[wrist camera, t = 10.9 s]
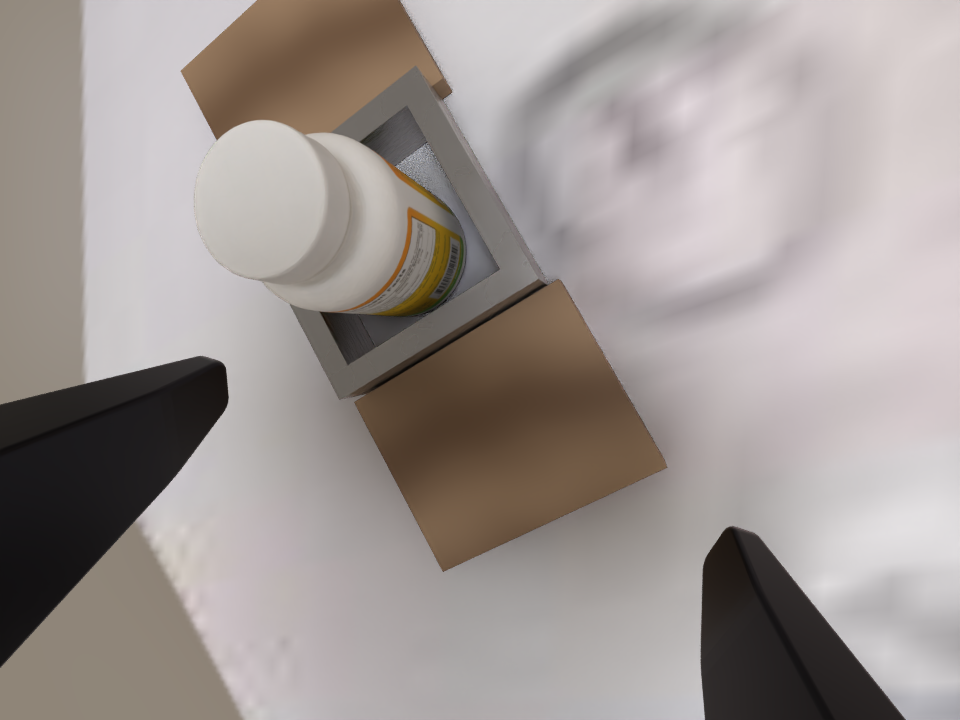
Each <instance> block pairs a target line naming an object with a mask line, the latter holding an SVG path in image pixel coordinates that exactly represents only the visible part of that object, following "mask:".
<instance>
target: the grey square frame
mask: <svg viewBox="0 0 960 720" xmlns="http://www.w3.org/2000/svg"><path fill="white" fill-rule="evenodd" d="M331 133H334V134H339V135H343V136H346V137H349V138H351V139H354V140H356V141H358V142H360V143H361V144H363V145H365V146H367V147H368V148H370V149H371V150H373V151H374V152H376V153H377V154H379V155H380V156H381V157H383V158H384V159H385V160H387V161H388V162H389V163H391V164H392V165H393V166H395V165H396V164H398V163H399V162H400V161H402V160H403V159H404V158H406V157H407V156H409V155H410V154H411V153H413V152H414V151H415V150H417V149H418V148H419V147H421V146H422V145H424V144H425V143H426V142H428V143H429V145H430V147H431V148H432V150H433V152H434V154H435V156H436V157H437V159H438V161H439V163H440V164H441V166H442V168H443V170H444V171H445V173H446V175H447V177H448V178H449V180H450V182H451V184H452V186H453V187H454V189H455V191H456V193H457V194H458V196H459V198H460V200H461V201H462V203H463V205H464V207H465V209H466V210H467V212H468V214H469V216H470V217H471V219H472V221H473V223H474V224H475V226H476V228H477V230H478V231H479V233H480V235H481V237H482V239H483V240H484V242H485V244H486V246H487V247H488V249H489V251H490V253H491V254H492V256H493V258H494V260H495V262H496V263H497V265H498V267H499V269H500V270H498V271H497V272H495V273H494V274H492V275H491V276H489V277H487V278H486V279H484V280H483V281H481V282H479V283H478V284H476V285H475V286H473V287H471V288H470V289H468V290H467V291H465V292H463V293H462V294H460V295H459V296H457V297H456V298H454V299H452V300H451V301H449V302H448V303H446V304H444V305H443V306H441V307H440V308H438V309H436V310H435V311H433V312H432V313H430V314H429V315H427V316H425V317H424V318H422V319H421V320H419V321H417V322H416V323H414V324H413V325H411V326H409V327H408V328H406V329H405V330H403V331H401V332H400V333H398V334H397V335H395V336H394V337H392V338H390V339H389V340H387V341H386V342H384V343H382V344H381V345H379V346H378V347H376V348H375V347H374V345H373V343H372V341H371V339H370V337H369V335H368V333H367V332H366V330H365V328H364V326H363V324H362V322H361V320H360V318H359V317H358V315H357V314H352V313H335V312H321V311H313V310H307V309H303V308H299V307H296V306H294V305H291V304H290V306H291V308H292V309H293V311H294V313H295V315H296V317H297V319H298V321H299V323H300V325H301V327H302V329H303V331H304V332H305V334H306V336H307V338H308V340H309V342H310V344H311V346H312V348H313V350H314V352H315V354H316V355H317V357H318V359H319V361H320V363H321V365H322V367H323V369H324V371H325V373H326V375H327V377H328V378H329V380H330V382H331V384H332V386H333V388H334V390H335V392H336V394H337V396H338V398H339V400H342V399H346V398H350V397H354V396H358V395H363V394H367V393H370V392H372V391H373V390H375V389H377V388H378V387H380V386H382V385H383V384H385V383H387V382H388V381H390V380H392V379H393V378H395V377H397V376H398V375H400V374H402V373H403V372H405V371H407V370H408V369H410V368H412V367H413V366H415V365H417V364H418V363H420V362H422V361H423V360H425V359H427V358H428V357H430V356H432V355H433V354H435V353H437V352H438V351H440V350H442V349H443V348H445V347H447V346H448V345H450V344H451V343H453V342H455V341H456V340H458V339H460V338H461V337H463V336H465V335H466V334H468V333H470V332H471V331H473V330H475V329H476V328H478V327H480V326H481V325H483V324H485V323H486V322H488V321H490V320H491V319H493V318H495V317H496V316H498V315H500V314H501V313H503V312H505V311H506V310H508V309H510V308H511V307H513V306H515V305H516V304H518V303H520V302H521V301H523V300H525V299H526V298H528V297H529V296H531V295H533V294H534V293H536V292H538V291H539V290H541V289H543V288H544V287H546V286H548V285H549V284H548V282H547V280H546V279H545V277H544V275H543V273H542V272H541V270H540V268H539V266H538V265H537V263H536V261H535V259H534V258H533V256H532V254H531V252H530V251H529V249H528V247H527V246H526V244H525V242H524V240H523V239H522V237H521V235H520V233H519V232H518V230H517V228H516V226H515V225H514V223H513V221H512V219H511V218H510V216H509V214H508V212H507V211H506V209H505V207H504V205H503V204H502V202H501V200H500V198H499V197H498V195H497V193H496V191H495V190H494V188H493V186H492V184H491V183H490V181H489V179H488V178H487V176H486V174H485V172H484V171H483V169H482V167H481V165H480V164H479V162H478V160H477V158H476V157H475V155H474V153H473V151H472V150H471V148H470V146H469V144H468V143H467V141H466V139H465V137H464V136H463V134H462V132H461V130H460V129H459V127H458V125H457V123H456V122H455V120H454V118H453V117H452V115H451V113H450V111H449V110H448V108H447V106H446V104H445V103H444V101H443V100H442V98H441V97H440V96H439V94H438V93H437V92H436V90H435V89H434V88H433V87H432V85H431V84H430V83H429V81H428V80H427V79H426V77H425V76H424V75H423V74H422V72H421V71H420V70H419V68H418V67H417V66H414V67H413V68H412V69H411V70H409V71H408V72H407V73H406V74H404V75H403V76H402V77H400V78H399V79H398V80H397V81H395V82H394V83H393V84H392V85H390V86H389V87H388V88H387V89H385V90H384V91H383V92H381V93H380V94H379V95H378V96H376V97H375V98H374V99H373V100H371V101H370V102H369V103H368V104H366V105H365V106H364V107H362V108H361V109H360V110H359V111H357V112H356V113H355V114H354V115H352V116H351V117H350V118H349V119H347V120H346V121H345V122H343V123H342V124H341V125H340V126H338V127H337V128H336V129H335V130H333V131H332V132H331Z"/></svg>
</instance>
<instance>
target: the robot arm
mask: <svg viewBox="0 0 960 720" xmlns="http://www.w3.org/2000/svg"><path fill="white" fill-rule="evenodd" d="M228 399H229V396H228V385H227V374H226V367H225V365H224V364H223V363H222V362H220V361H218V360H215V359H211V358H208V357H205V356H197V357H193V358H189V359H185V360H181V361H176V362H172V363H168V364H164V365H160V366H156V367H152V368H148V369H144V370H140V371H136V372H131V373H127V374H123V375H119V376H115V377H111V378H107V379H103V380H99V381H95V382H91V383H86V384H82V385H78V386H75V387H70V388H66V389H62V390H58V391H54V392H50V393H46V394H41V395H38V396H33V397H29V398H26V399H22V400H17V401H13V402H9V403H5V404H1V405H0V667H1V666H2V665H3V664H4V663H5V662H6V661H7V660H8V659H9V658H10V657H11V656H12V655H13V653H14V652H15V651H16V650H17V649H18V648H19V647H20V646H21V645H22V644H23V642H24V641H25V640H26V639H27V638H28V637H29V636H30V635H31V634H32V633H33V632H34V631H35V629H36V628H37V627H38V626H39V625H40V624H41V623H42V622H43V621H44V620H45V619H46V617H47V616H48V615H49V614H50V613H51V612H52V611H53V610H54V608H55V607H57V605H58V604H59V603H60V602H61V601H62V600H63V599H64V598H65V597H66V596H67V595H68V593H69V592H70V591H71V590H72V589H73V588H74V587H75V586H76V585H77V584H78V583H79V581H80V580H81V579H82V578H83V577H84V576H85V575H86V574H87V573H88V572H89V571H90V569H91V568H92V567H93V566H94V565H95V564H96V563H97V562H98V561H99V560H100V559H101V558H102V556H103V555H104V554H105V553H106V552H107V551H108V550H109V549H110V548H111V546H112V545H113V544H114V543H115V542H116V541H117V540H118V539H119V538H120V537H121V536H122V535H123V534H124V532H125V531H126V530H127V529H128V528H129V527H130V526H131V525H132V524H133V523H134V522H135V520H136V519H137V518H138V517H139V516H140V515H141V514H142V513H143V512H144V511H145V510H146V508H147V507H148V506H149V505H150V504H151V503H152V502H153V501H154V500H155V499H156V498H157V496H158V495H159V494H160V493H161V492H162V491H163V490H164V489H165V488H166V487H167V485H168V484H169V483H170V482H171V481H172V480H173V478H174V477H175V476H176V475H177V474H178V472H179V471H180V470H181V469H182V467H183V466H184V465H185V463H186V462H187V461H188V459H189V458H190V457H191V455H192V454H193V453H194V451H195V450H196V449H197V447H198V446H199V445H200V443H201V442H202V441H203V439H204V438H205V437H206V435H207V434H208V433H209V431H210V430H211V428H212V427H213V426H214V424H215V423H216V422H217V420H218V419H219V418H220V416H221V415H222V414H223V412H224V411H225V409H226V407H227V404H228ZM701 676H702V689H703V700H704V712H705V720H906V719H905V718H904V717H903V716H902V714H901V713H900V712H899V711H898V709H897V708H896V707H895V706H894V704H893V703H892V702H891V701H890V699H889V698H888V697H887V696H886V694H885V693H884V692H883V691H882V689H881V688H880V687H879V686H878V684H877V683H876V682H875V681H874V679H873V678H872V677H871V676H870V674H869V673H868V672H867V671H866V669H865V668H864V667H863V666H862V664H861V663H860V662H859V661H858V659H857V658H856V657H855V656H854V654H853V653H852V652H851V651H850V650H849V648H848V647H847V646H846V645H845V643H844V642H843V641H842V640H841V638H840V637H839V636H838V635H837V633H836V632H835V631H834V630H833V628H832V627H831V626H830V625H829V623H828V622H827V621H826V620H825V618H824V617H823V616H822V615H821V613H820V612H819V611H818V610H817V608H816V607H815V606H814V605H813V603H812V602H811V601H810V600H809V598H808V597H807V596H806V595H805V593H804V592H803V591H802V590H801V588H800V587H799V586H798V585H797V583H796V582H795V581H794V580H793V578H792V577H791V576H790V575H789V573H788V572H787V571H786V570H785V568H784V567H783V566H782V565H781V563H780V562H779V561H778V560H777V558H776V557H775V556H774V555H773V553H772V552H771V551H770V550H769V548H768V547H767V546H766V545H765V543H764V542H763V541H762V540H761V538H760V537H759V536H758V535H756V534H755V533H753V532H750V531H747V530H744V529H741V528H738V527H734V526H730V527H728V528H726V529H725V530H724V531H723V533H722V534H721V536H720V537H719V539H718V540H717V542H716V543H715V545H714V546H713V548H712V549H711V550H710V552H709V553H708V555H707V557H706V559H705V562H704V565H703V580H702V617H701Z"/></svg>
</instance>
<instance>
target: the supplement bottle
mask: <svg viewBox="0 0 960 720" xmlns="http://www.w3.org/2000/svg"><path fill="white" fill-rule="evenodd" d="M194 212H195V219H196V223H197V228H198V231H199V233H200V236H201V238H202V240H203V242H204V244H205V246H206V248H207V249H208V251H209V252H210V253H211V255H212V256H213V257H214V258H215V260H216V261H217V262H218V263H220V264H221V265H222V266H223V267H225V268H226V269H227V270H229V271H231V272H232V273H234V274H236V275H239V276H242V277H245V278H248V279H253V280H259V281H262V282H263V283H264V284H265V286H266V287H267V288H268V289H269V290H270V291H272V292H273V293H274V294H275V295H276V296H278V297H279V298H281V299H282V300H284V301H286V302H287V303H289V304H291V305H294V306H296V307H299V308H303V309H307V310H313V311H321V312H335V313H352V314H370V315H385V316H415V315H419V314H423V313H426V312H428V311H430V310H432V309H434V308H436V307H437V306H439V305H440V304H441V303H443V302H444V301H445V300H446V299H447V298H448V297H449V296H450V294H451V293H452V292H453V291H454V289H455V288H456V286H457V284H458V282H459V280H460V278H461V276H462V273H463V269H464V265H465V259H466V245H465V238H464V234H463V231H462V228H461V226H460V223H459V221H458V219H457V218H456V216H455V215H454V213H453V212H452V211H451V209H450V208H449V207H448V206H447V205H446V204H445V203H443V202H442V201H441V200H440V199H439V198H437V197H436V196H435V195H433V194H432V193H431V192H429V191H428V190H426V189H425V188H424V187H422V186H421V185H419V184H418V183H416V182H415V181H414V180H412V179H411V178H410V177H408V176H407V175H406V174H404V173H403V172H401V171H400V170H399V169H397V168H396V167H395V166H393V165H392V164H391V163H389V162H388V161H387V160H385V159H384V158H383V157H381V156H380V155H379V154H377V153H376V152H374V151H373V150H371V149H370V148H368V147H367V146H365V145H363V144H361V143H360V142H358V141H356V140H354V139H351V138H349V137H346V136H343V135H339V134H334V133H312V134H306V135H304V134H302V133H301V132H299V131H297V130H295V129H294V128H292V127H290V126H288V125H285V124H282V123H280V122H276V121H271V120H255V121H249V122H246V123H243V124H241V125H238V126H235V127H234V128H232V129H230V130H229V131H228V132H226V133H225V134H224V135H222V136H221V137H220V138H219V139H218V140H217V141H216V142H215V143H214V145H213V146H212V147H211V148H210V150H209V152H208V153H207V155H206V157H205V158H204V160H203V162H202V165H201V167H200V170H199V173H198V176H197V180H196V184H195V192H194Z"/></svg>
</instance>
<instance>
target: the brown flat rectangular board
mask: <svg viewBox="0 0 960 720" xmlns="http://www.w3.org/2000/svg"><path fill="white" fill-rule="evenodd" d="M414 66H417V67H418V68H419V70H420V71H421V72H422V74H423V75H424V76H425V77H426V79H427V80H428V81H429V83H430V84H431V85H432V87H433V88H434V89H435V90H436V92H437V93H438V94H439V96H440V97H441V98H442V99H444V98H445V97H446V96H448V95H449V94H450V93H452V90H451V89H450V87H449V85H448V83H447V82H446V80H445V78H444V76H443V75H442V73H441V71H440V69H439V68H438V66H437V64H436V62H435V61H434V59H433V57H432V56H431V54H430V52H429V50H428V49H427V47H426V45H425V43H424V42H423V40H422V38H421V36H420V35H419V33H418V31H417V30H416V28H415V26H414V24H413V23H412V21H411V19H410V17H409V16H408V14H407V12H406V10H405V9H404V7H403V5H402V4H401V2H400V0H257V1H256V2H255V3H254V4H253V5H252V6H251V7H249V8H248V9H247V10H246V11H245V12H244V13H243V14H242V15H241V16H240V17H239V18H238V19H236V20H235V21H234V22H233V23H232V24H231V25H230V26H229V27H228V28H227V29H226V30H225V31H223V32H222V33H221V34H220V35H219V36H218V37H217V38H216V39H215V40H214V41H213V42H211V43H210V44H209V45H208V46H207V47H206V48H205V49H204V50H203V51H202V52H201V53H200V54H198V55H197V56H196V57H195V58H194V59H193V60H192V61H191V62H190V63H189V64H188V65H187V66H185V67H184V68H183V69H182V70H181V73H182V75H183V76H184V78H185V80H186V82H187V84H188V86H189V88H190V90H191V92H192V94H193V96H194V97H195V99H196V101H197V103H198V105H199V107H200V109H201V111H202V113H203V115H204V117H205V118H206V120H207V122H208V124H209V126H210V128H211V130H212V132H213V134H214V136H215V138H216V139H217V140H218V139H219V138H220V137H221V136H222V135H224V134H225V133H226V132H228V131H229V130H230V129H232V128H234V127H235V126H238V125H241V124H243V123H246V122H249V121H255V120H271V121H276V122H280V123H282V124H285V125H288V126H290V127H292V128H294V129H295V130H297V131H299V132H301V133H302V134H304V135H306V134H312V133H331V132H332V131H333V130H335V129H336V128H337V127H338V126H340V125H341V124H342V123H343V122H345V121H346V120H347V119H349V118H350V117H351V116H352V115H354V114H355V113H356V112H357V111H359V110H360V109H361V108H362V107H364V106H365V105H366V104H368V103H369V102H370V101H371V100H373V99H374V98H375V97H376V96H378V95H379V94H380V93H381V92H383V91H384V90H385V89H387V88H388V87H389V86H390V85H392V84H393V83H394V82H395V81H397V80H398V79H399V78H400V77H402V76H403V75H404V74H406V73H407V72H408V71H409V70H411V69H412V68H413V67H414ZM354 403H355V405H356V407H357V409H358V411H359V412H360V414H361V416H362V418H363V420H364V422H365V424H366V426H367V428H368V430H369V432H370V433H371V435H372V437H373V439H374V441H375V443H376V445H377V447H378V449H379V451H380V452H381V454H382V456H383V458H384V460H385V462H386V464H387V466H388V468H389V470H390V472H391V473H392V475H393V477H394V479H395V481H396V483H397V485H398V487H399V489H400V491H401V493H402V494H403V496H404V498H405V500H406V502H407V504H408V506H409V508H410V510H411V512H412V514H413V515H414V517H415V519H416V521H417V523H418V525H419V527H420V529H421V531H422V533H423V535H424V536H425V538H426V540H427V542H428V544H429V546H430V548H431V550H432V552H433V554H434V556H435V557H436V559H437V561H438V563H439V565H440V567H441V569H442V571H443V572H444V571H446V570H448V569H450V568H452V567H455V566H457V565H459V564H461V563H463V562H465V561H467V560H470V559H472V558H474V557H476V556H478V555H480V554H482V553H485V552H487V551H489V550H491V549H493V548H495V547H497V546H500V545H502V544H504V543H506V542H508V541H510V540H513V539H515V538H517V537H519V536H521V535H523V534H525V533H528V532H530V531H532V530H534V529H536V528H538V527H540V526H543V525H545V524H547V523H549V522H551V521H553V520H555V519H558V518H560V517H562V516H564V515H566V514H568V513H571V512H573V511H575V510H577V509H579V508H581V507H583V506H586V505H588V504H590V503H592V502H594V501H596V500H598V499H601V498H603V497H605V496H607V495H609V494H611V493H614V492H616V491H618V490H620V489H622V488H624V487H626V486H629V485H631V484H633V483H635V482H637V481H639V480H641V479H644V478H646V477H648V476H650V475H652V474H654V473H656V472H659V471H661V470H663V469H665V468H667V466H666V463H665V460H664V458H663V456H662V454H661V453H660V451H659V449H658V448H657V446H656V444H655V442H654V441H653V439H652V437H651V435H650V434H649V432H648V430H647V428H646V427H645V425H644V423H643V422H642V420H641V418H640V416H639V415H638V413H637V411H636V409H635V408H634V406H633V404H632V402H631V401H630V399H629V397H628V396H627V394H626V392H625V390H624V389H623V387H622V385H621V383H620V382H619V380H618V378H617V376H616V375H615V373H614V371H613V369H612V368H611V366H610V364H609V363H608V361H607V359H606V357H605V356H604V354H603V352H602V350H601V349H600V347H599V345H598V343H597V342H596V340H595V338H594V337H593V335H592V333H591V331H590V330H589V328H588V326H587V324H586V323H585V321H584V319H583V317H582V316H581V314H580V312H579V311H578V309H577V307H576V305H575V304H574V302H573V300H572V298H571V297H570V295H569V293H568V291H567V290H566V288H565V286H564V284H563V283H562V282H561V281H560V280H559V279H558V280H556V281H554V282H553V283H551V284H549V285H548V286H546V287H544V288H543V289H541V290H539V291H538V292H536V293H534V294H533V295H531V296H529V297H528V298H526V299H525V300H523V301H521V302H520V303H518V304H516V305H515V306H513V307H511V308H510V309H508V310H506V311H505V312H503V313H501V314H500V315H498V316H496V317H495V318H493V319H491V320H490V321H488V322H486V323H485V324H483V325H481V326H480V327H478V328H476V329H475V330H473V331H471V332H470V333H468V334H466V335H465V336H463V337H461V338H460V339H458V340H456V341H455V342H453V343H451V344H450V345H448V346H447V347H445V348H443V349H442V350H440V351H438V352H437V353H435V354H433V355H432V356H430V357H428V358H427V359H425V360H423V361H422V362H420V363H418V364H417V365H415V366H413V367H412V368H410V369H408V370H407V371H405V372H403V373H402V374H400V375H398V376H397V377H395V378H393V379H392V380H390V381H388V382H387V383H385V384H383V385H382V386H380V387H378V388H377V389H375V390H373V391H372V392H370V393H368V394H367V395H365V396H364V397H362V398H360V399H359V400H357V401H355V402H354Z"/></svg>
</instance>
